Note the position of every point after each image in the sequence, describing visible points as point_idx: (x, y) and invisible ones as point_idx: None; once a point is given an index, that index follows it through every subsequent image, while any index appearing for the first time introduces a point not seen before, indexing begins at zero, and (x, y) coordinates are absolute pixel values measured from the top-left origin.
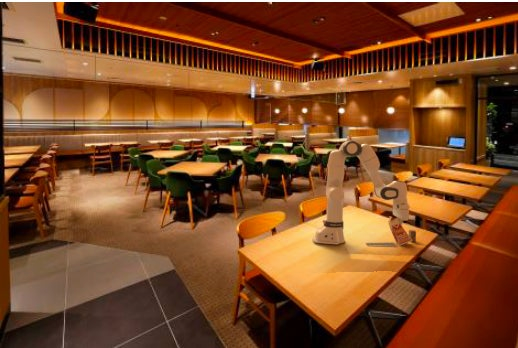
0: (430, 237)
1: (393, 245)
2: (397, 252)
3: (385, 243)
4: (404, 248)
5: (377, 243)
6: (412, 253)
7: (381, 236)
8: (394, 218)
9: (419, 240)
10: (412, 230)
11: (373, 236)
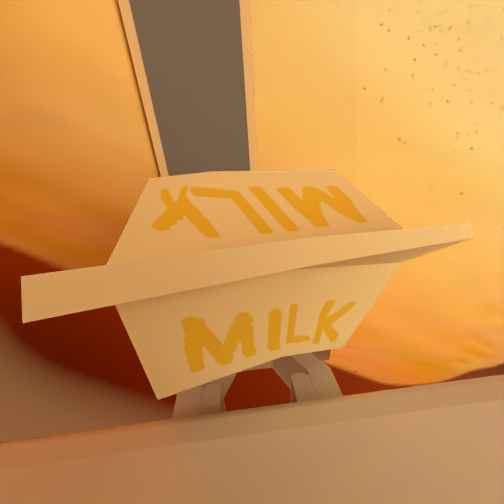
0: (365, 371)
1: (178, 172)
2: (24, 163)
3: (217, 118)
4: None
5: (199, 30)
6: (58, 252)
7: (423, 137)
8: (179, 331)
9: None
10: (320, 351)
11: (437, 56)
